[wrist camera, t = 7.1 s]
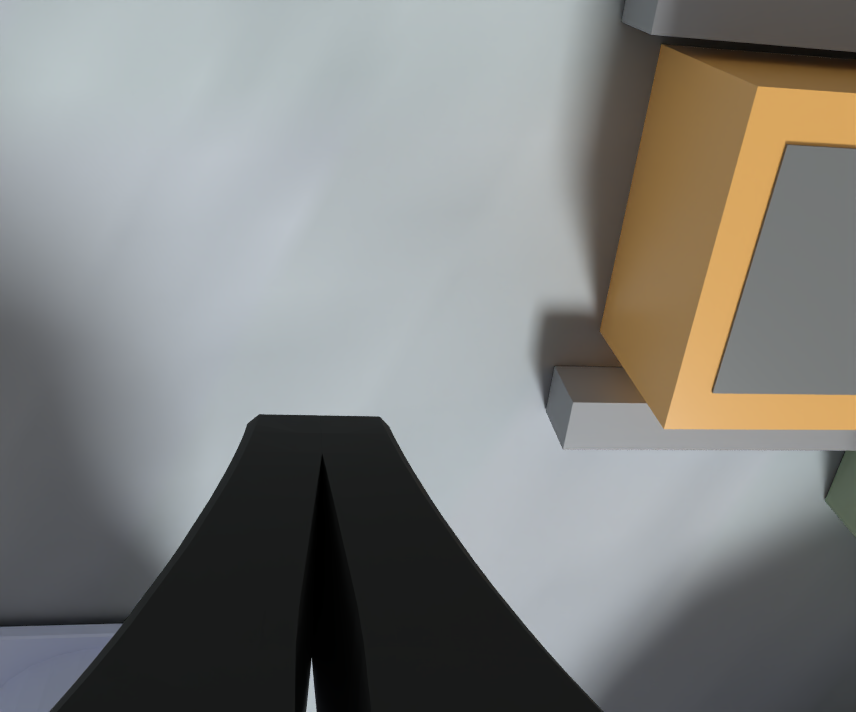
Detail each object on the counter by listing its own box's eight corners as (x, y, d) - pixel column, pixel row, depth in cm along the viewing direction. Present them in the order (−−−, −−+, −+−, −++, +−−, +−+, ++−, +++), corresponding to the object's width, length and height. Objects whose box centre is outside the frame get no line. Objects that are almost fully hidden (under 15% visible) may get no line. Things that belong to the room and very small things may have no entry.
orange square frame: (881, 333, 19) (1008, 431, 16) (596, 327, 18) (665, 431, 15) (988, 68, 16) (1172, 116, 13) (657, 42, 15) (759, 86, 12)
